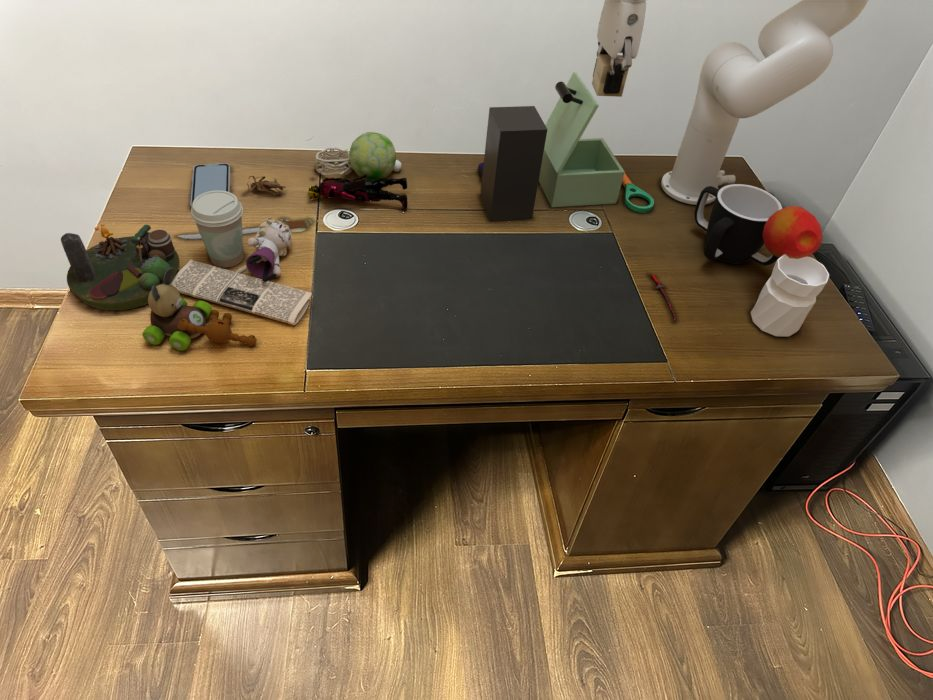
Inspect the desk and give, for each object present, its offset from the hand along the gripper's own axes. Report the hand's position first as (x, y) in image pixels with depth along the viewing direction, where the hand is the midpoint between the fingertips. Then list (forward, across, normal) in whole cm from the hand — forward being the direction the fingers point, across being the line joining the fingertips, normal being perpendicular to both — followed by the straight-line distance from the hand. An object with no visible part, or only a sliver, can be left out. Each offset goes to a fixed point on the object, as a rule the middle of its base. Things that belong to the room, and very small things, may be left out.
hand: (605, 84), depth 135 cm
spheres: (+22, +16, +41) cm, 50 cm away
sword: (+24, -11, +71) cm, 75 cm away
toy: (+20, -26, +71) cm, 78 cm away
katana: (+23, -38, -6) cm, 45 cm away
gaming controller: (+24, +5, +18) cm, 30 cm away
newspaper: (+21, -27, +72) cm, 80 cm away
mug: (+23, -26, -23) cm, 41 cm away
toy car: (+24, -34, +81) cm, 91 cm away
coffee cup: (+24, -16, +74) cm, 80 cm away
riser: (+23, -6, +19) cm, 31 cm away
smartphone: (+24, +7, +78) cm, 82 cm away
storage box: (+23, 0, +2) cm, 23 cm away
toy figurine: (+22, -33, +75) cm, 84 cm away
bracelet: (+21, +11, +57) cm, 62 cm away
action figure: (+23, 0, +49) cm, 54 cm away
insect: (+19, +3, +68) cm, 71 cm away
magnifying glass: (+23, -3, -10) cm, 26 cm away
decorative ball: (+14, +5, +47) cm, 49 cm away
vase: (+23, -45, -22) cm, 55 cm away
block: (+1, 0, 0) cm, 1 cm away
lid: (+8, 0, +6) cm, 10 cm away
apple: (+7, -43, -22) cm, 49 cm away
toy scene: (+24, -20, +91) cm, 96 cm away
